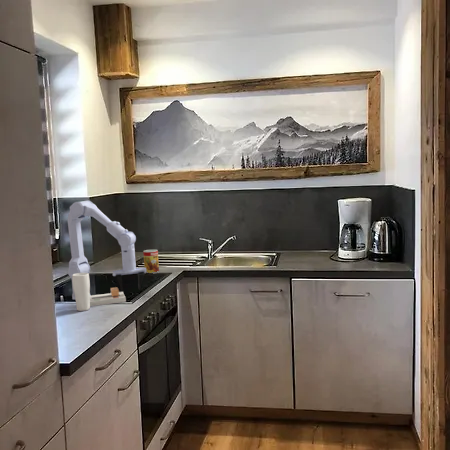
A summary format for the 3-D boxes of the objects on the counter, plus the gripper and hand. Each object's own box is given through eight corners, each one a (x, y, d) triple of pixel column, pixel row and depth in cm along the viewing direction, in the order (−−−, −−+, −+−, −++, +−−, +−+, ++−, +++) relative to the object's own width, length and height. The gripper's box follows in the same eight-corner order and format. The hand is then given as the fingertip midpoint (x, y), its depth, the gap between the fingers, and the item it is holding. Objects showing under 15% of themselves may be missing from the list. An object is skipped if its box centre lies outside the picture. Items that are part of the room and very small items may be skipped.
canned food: (156, 273, 291) (155, 251, 290) (142, 273, 293) (141, 252, 291) (161, 270, 299) (159, 249, 297) (147, 270, 300) (146, 249, 299)
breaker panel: (86, 300, 238) (86, 295, 238) (123, 296, 243) (122, 291, 243) (87, 306, 228) (87, 301, 228) (125, 301, 232) (125, 296, 232)
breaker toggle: (111, 293, 238) (110, 288, 238) (117, 293, 239) (117, 287, 239) (112, 296, 233) (111, 290, 233) (118, 295, 234) (118, 289, 234)
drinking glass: (93, 307, 226) (90, 272, 224) (89, 311, 219) (87, 275, 218) (77, 308, 226) (74, 273, 224) (73, 312, 219) (70, 276, 218)
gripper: (112, 263, 231) (115, 294, 232) (146, 259, 235) (148, 290, 236) (111, 260, 237) (113, 290, 239) (144, 257, 242) (146, 286, 243)
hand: (130, 290), depth 238 cm, fingers open, 7 cm apart
